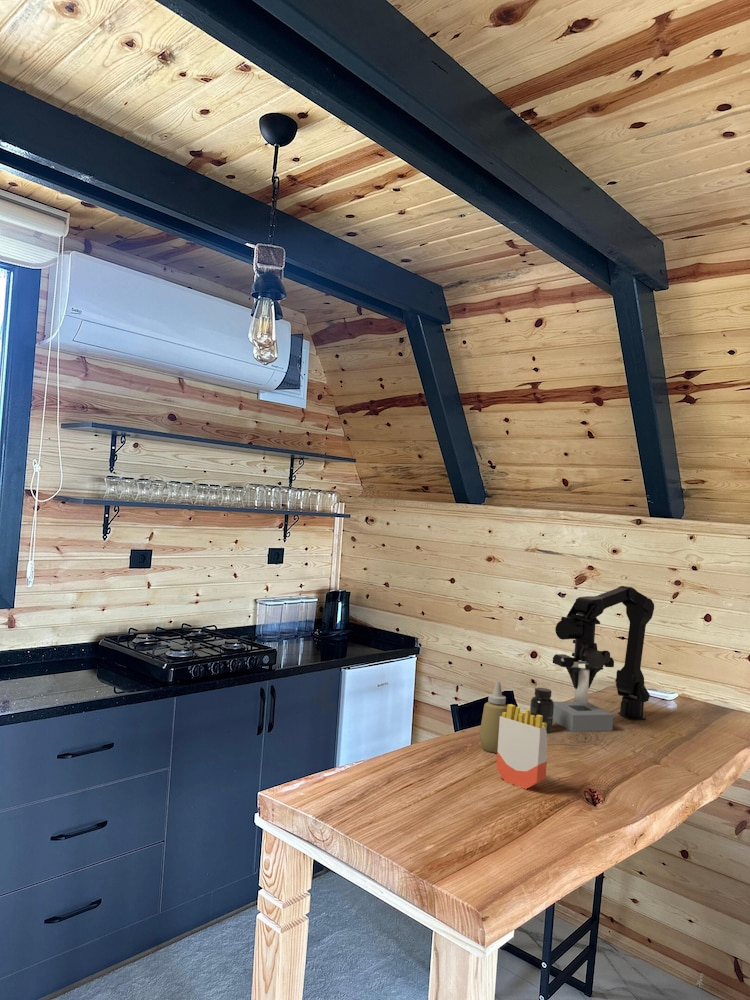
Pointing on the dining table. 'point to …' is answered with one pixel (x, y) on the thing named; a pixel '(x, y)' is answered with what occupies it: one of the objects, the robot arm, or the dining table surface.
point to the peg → (582, 686)
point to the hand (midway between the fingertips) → (581, 688)
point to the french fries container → (522, 747)
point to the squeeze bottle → (492, 719)
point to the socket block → (582, 717)
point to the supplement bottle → (543, 706)
